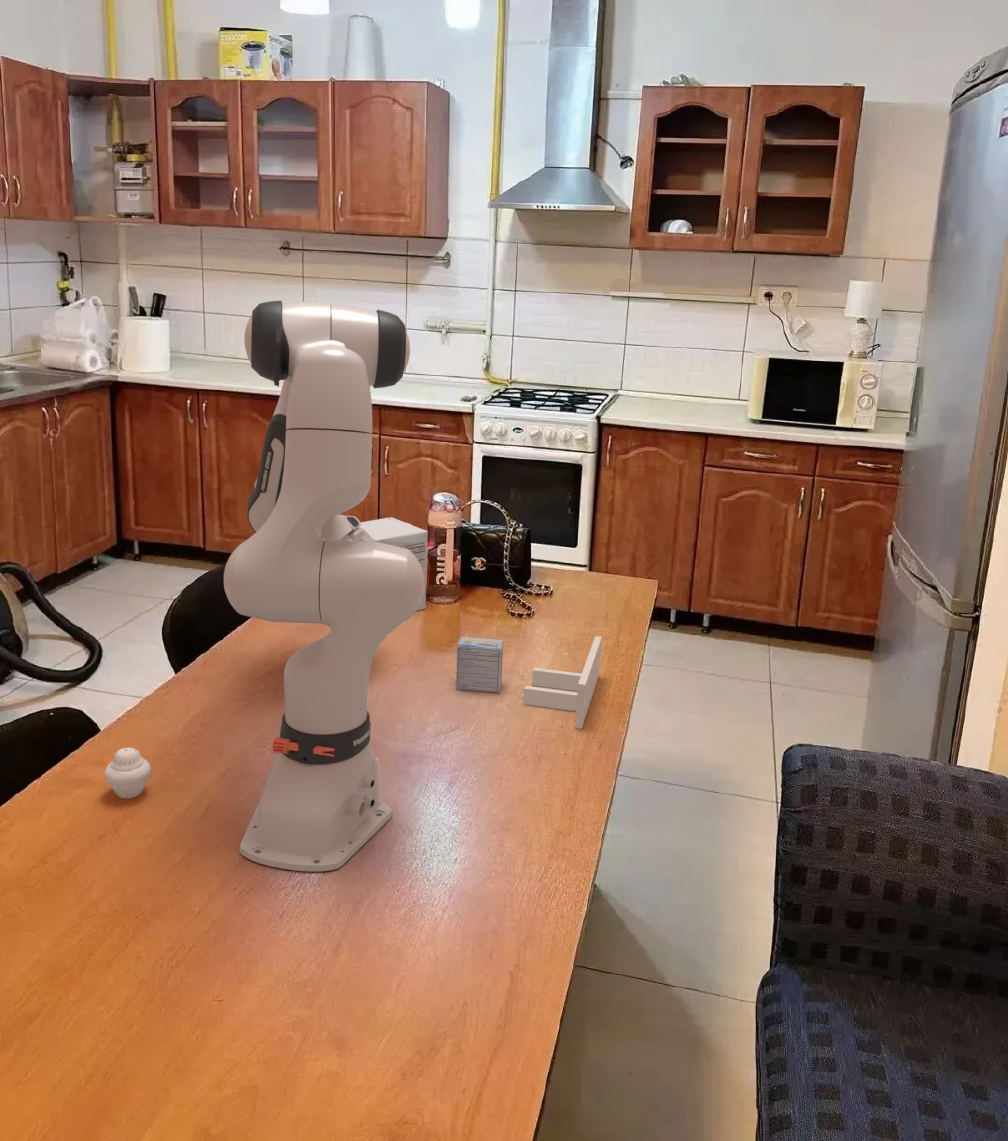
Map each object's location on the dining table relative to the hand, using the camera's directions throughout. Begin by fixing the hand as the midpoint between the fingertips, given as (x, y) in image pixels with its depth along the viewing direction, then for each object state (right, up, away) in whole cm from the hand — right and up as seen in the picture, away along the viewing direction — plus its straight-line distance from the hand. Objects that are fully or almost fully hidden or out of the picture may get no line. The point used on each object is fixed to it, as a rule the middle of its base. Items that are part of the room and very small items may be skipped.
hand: (380, 597), depth 187 cm
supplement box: (-4, -3, +38) cm, 39 cm away
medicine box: (+18, -16, +1) cm, 24 cm away
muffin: (-31, -27, -38) cm, 56 cm away
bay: (+31, -18, -1) cm, 36 cm away
